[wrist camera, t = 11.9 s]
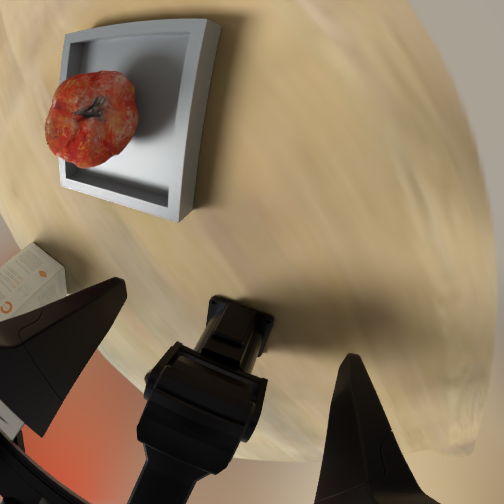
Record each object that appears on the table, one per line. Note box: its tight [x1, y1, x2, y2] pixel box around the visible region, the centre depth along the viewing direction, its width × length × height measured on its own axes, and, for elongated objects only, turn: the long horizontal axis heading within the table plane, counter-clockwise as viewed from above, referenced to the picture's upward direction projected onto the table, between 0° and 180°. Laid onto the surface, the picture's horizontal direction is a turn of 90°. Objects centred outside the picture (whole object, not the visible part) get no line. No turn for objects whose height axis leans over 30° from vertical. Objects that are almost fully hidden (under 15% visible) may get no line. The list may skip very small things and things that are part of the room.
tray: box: [59, 19, 222, 223], centre depth 19 cm, size 15×14×2 cm
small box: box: [0, 242, 67, 321], centre depth 30 cm, size 8×6×13 cm
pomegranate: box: [45, 70, 139, 168], centre depth 17 cm, size 7×7×10 cm
